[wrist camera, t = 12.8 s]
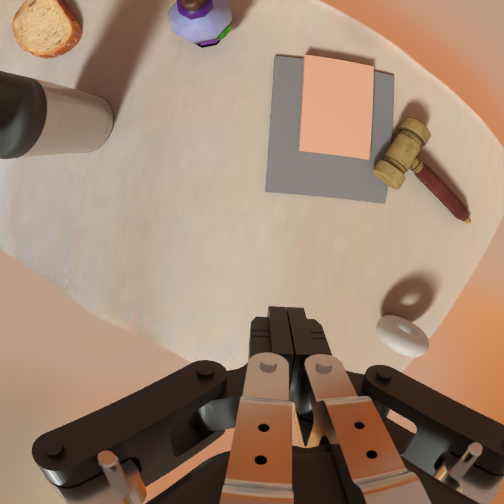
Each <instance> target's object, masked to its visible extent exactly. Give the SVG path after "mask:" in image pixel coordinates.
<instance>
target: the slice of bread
mask: <svg viewBox="0 0 504 504" xmlns="http://www.w3.org/2000/svg"><path fill="white" fill-rule="evenodd" d="M13 31H14V35H15V38H16V40H17V43H18V44H19V45H20V47H21V48H23V50H25V51H29V52H30V53H31V54H33V55H35V56H37V57H42V58H53V57H57V56H60V55H63V54H65V53H66V52H68V51H70V50H71V49H72V48H73V47H75V46H76V45H77V44H78V42H79V40H80V38H81V36H82V29H81V28H80V25H79V23H78V20H77V19H76V17H75V16H74V14H73V13H72V12H71V10H70V9H69V7H68V6H67V4H66V3H65V1H64V0H26V1H25V2H24V3H23V5H22V6H21V7H20V9H19V10H18V11H17V13H16V15H15V17H14V19H13Z"/></svg>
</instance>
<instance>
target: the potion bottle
mask: <svg viewBox="0 0 504 504" xmlns="http://www.w3.org/2000/svg"><path fill="white" fill-rule="evenodd" d="M168 16H169V24H170V31H172V32H174V33H176V34H178V35H180V36H182V37H183V38H185V39H187V40H189V41H191V42H193V43H195V44H197V45H198V46H200V47H202V48H203V47H208V46H213V45H217V44H218V43H219V42H220V40H222V39H223V38H224V37H226V36H227V34H228V33H229V31H230V29H231V25H230V22H231V20H232V12H231V7H230V2H229V0H177V2H176V3H175V4H174V5H173V6H172V7H171V8H170V9H169V11H168Z"/></svg>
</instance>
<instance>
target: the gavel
mask: <svg viewBox="0 0 504 504" xmlns="http://www.w3.org/2000/svg"><path fill="white" fill-rule="evenodd" d="M399 130H400V133H399V134H398V135H397V136H396V138H395V140H394V141H393V143H392V144H391V146H390V148H389V149H388V151H387V152H386V154H385V158H384V159H383V160H379V161H378V162H377V164H376V166H375V167H374V169H373V173H374V174H375V175H376V176H377V177H378V178H379V179H380V180H381V181H383V182H384V183H385V184H387V185H389V186H390V187H392V188H394V189H399V188H400V186H401V185H402V183H403V182H404V180H405V176H404V174H405V172H407V171H408V169H411V170H412V171H413V172H414V174H415V175H416V176H417V178H418V179H419V180H420V181H421V182H422V183H423V184H424V185H425V186H426V187H427V188H428V189H429V190H430V191H431V192H432V193H433V194H434V195H435V196H436V197H437V198H438V199H439V200H440V201H441V202H442V203H443V204H444V205H445V206H446V207H447V208H448V209H449V210H450V212H451V213H452V214H453V215H454V216H455V217H456V218H457V219H460V220H462V221H463V222H466V223H467V224H470V223H471V219H470V218H469V215H468V212H467V209H466V207H465V206H464V205H463V203H462V202H461V201H460V200H459V199H458V198H457V197H456V195H455V194H454V193H453V192H452V191H451V190H450V189H449V188H448V187H447V185H446V184H445V183H444V182H443V181H442V180H441V179H440V178H439V177H438V176H437V175H436V174H435V173H434V172H433V171H432V170H431V169H430V168H429V167H428V166H427V165H426V164H424V163H423V162H422V161H421V160H420V159H419V158H418V157H417V155H418V153H419V151H420V147H421V146H425V145H426V143H427V142H428V140H429V138H430V137H431V133H430V131H429V130H428V128H427V127H426V126H425V125H424V124H422V123H421V122H420V121H418V120H416V119H414V118H409V117H407V118H405V119H404V121H403V122H402V124H401V126H400V127H399Z"/></svg>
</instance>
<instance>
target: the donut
mask: <svg viewBox="0 0 504 504" xmlns="http://www.w3.org/2000/svg"><path fill="white" fill-rule="evenodd" d="M376 330H377V333H378V336H379V337H380V339H381V340H382V341H383V342H384V343H385V344H386V345H387V346H388V347H390V348H391V349H393V350H394V351H396V352H398V353H400V354H402V355H405V356H409V357H418V356H422V355H423V354H424V353H425V352H426V351H427V349H428V347H429V341H428V337H427V336H426V334H425V333H424V332H423V331H422V330H421V329H420V328H419V327H417V326H416V325H415V324H413V323H412V322H410V321H408V320H406V319H404V318H401V317H399V316H395V315H386V316H384V317H382V318H380V319H379V321H378V323H377V327H376Z"/></svg>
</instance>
